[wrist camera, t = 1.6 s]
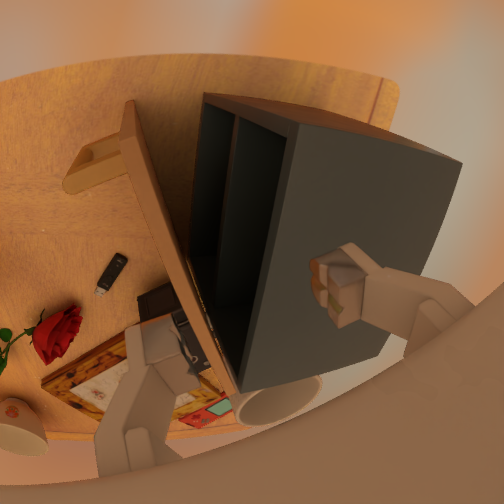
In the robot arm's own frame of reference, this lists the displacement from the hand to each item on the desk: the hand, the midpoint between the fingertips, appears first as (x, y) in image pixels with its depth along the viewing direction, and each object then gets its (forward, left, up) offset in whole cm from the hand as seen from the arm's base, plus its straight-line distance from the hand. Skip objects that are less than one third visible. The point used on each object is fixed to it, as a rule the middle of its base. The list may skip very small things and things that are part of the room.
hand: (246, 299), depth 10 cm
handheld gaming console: (+66, +13, -33) cm, 75 cm away
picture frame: (+52, -5, -33) cm, 62 cm away
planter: (+42, +20, -33) cm, 57 cm away
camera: (+29, +4, -33) cm, 44 cm away
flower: (+34, -24, -33) cm, 53 cm away
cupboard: (+8, +15, -33) cm, 37 cm away
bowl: (+57, -35, -33) cm, 75 cm away
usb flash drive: (+22, -6, -33) cm, 40 cm away
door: (+10, -2, -33) cm, 34 cm away
